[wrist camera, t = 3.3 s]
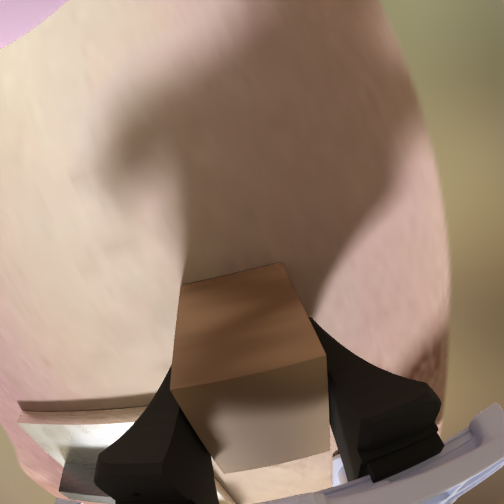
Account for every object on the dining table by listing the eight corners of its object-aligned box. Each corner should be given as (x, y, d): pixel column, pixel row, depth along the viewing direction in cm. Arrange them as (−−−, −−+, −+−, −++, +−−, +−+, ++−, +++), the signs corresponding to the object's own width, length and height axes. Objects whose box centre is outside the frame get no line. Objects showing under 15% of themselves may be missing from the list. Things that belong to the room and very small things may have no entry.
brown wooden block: (281, 262, 14) (326, 354, 8) (297, 359, 16) (329, 450, 11) (180, 285, 14) (169, 389, 8) (216, 377, 16) (224, 473, 11)
